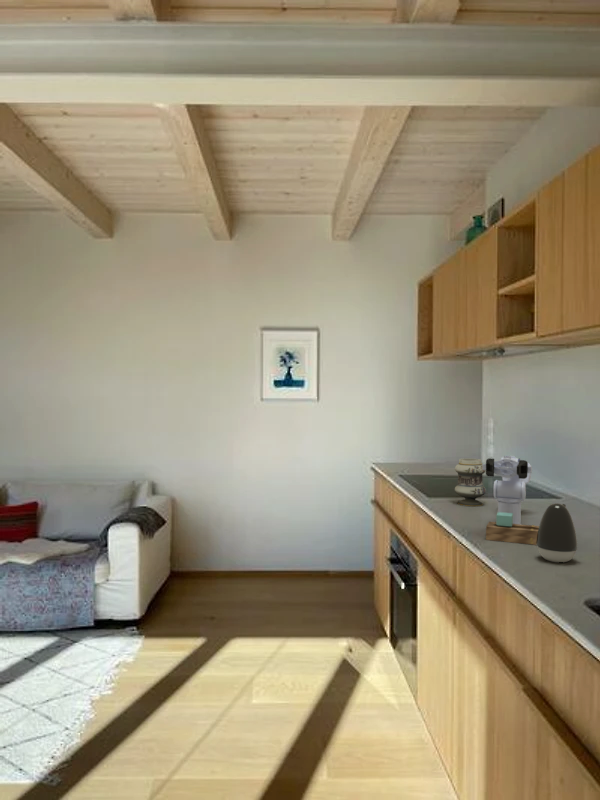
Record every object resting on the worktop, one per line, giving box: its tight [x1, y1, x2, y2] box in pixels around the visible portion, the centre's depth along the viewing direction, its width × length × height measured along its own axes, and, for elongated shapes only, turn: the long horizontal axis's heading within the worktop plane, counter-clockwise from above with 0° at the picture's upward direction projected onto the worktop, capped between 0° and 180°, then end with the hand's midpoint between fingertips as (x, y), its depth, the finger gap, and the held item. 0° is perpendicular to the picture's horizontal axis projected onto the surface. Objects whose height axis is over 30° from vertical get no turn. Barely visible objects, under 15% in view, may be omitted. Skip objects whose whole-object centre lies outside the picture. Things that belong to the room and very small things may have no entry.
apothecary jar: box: [454, 458, 487, 507], centre depth 247 cm, size 12×12×18 cm
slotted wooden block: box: [485, 521, 539, 546], centre depth 186 cm, size 24×8×6 cm, turn 67°
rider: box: [495, 511, 513, 527], centre depth 189 cm, size 4×5×5 cm
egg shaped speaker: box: [535, 503, 579, 563], centre depth 166 cm, size 10×10×15 cm
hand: (504, 469), depth 186 cm, fingers open, 7 cm apart
